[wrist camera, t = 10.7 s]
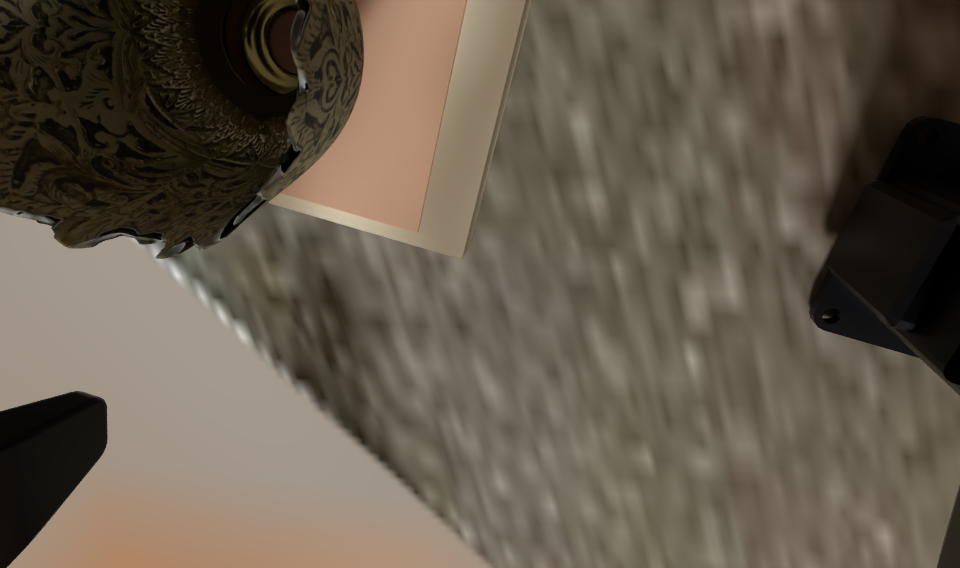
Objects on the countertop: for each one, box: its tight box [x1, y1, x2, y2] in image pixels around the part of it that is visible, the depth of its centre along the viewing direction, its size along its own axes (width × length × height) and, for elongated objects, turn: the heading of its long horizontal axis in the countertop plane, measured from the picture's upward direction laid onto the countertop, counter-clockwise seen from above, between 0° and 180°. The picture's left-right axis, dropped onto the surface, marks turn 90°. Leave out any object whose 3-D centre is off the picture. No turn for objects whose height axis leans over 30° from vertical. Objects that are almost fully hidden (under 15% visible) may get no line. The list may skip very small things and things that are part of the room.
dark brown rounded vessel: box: [0, 0, 364, 259], centre depth 13 cm, size 8×7×8 cm
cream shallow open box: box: [268, 0, 532, 259], centre depth 16 cm, size 12×10×4 cm
